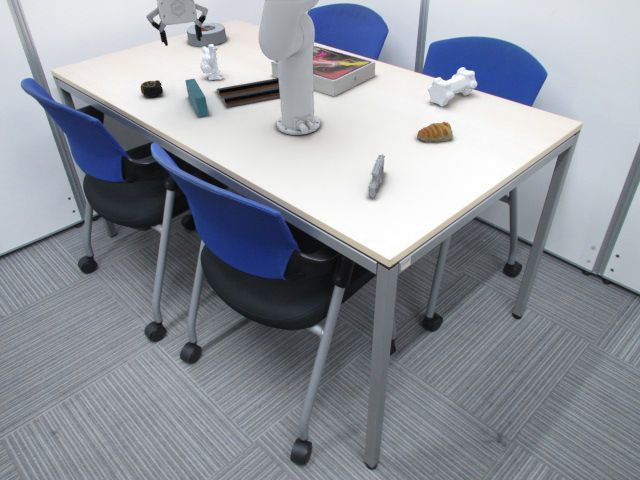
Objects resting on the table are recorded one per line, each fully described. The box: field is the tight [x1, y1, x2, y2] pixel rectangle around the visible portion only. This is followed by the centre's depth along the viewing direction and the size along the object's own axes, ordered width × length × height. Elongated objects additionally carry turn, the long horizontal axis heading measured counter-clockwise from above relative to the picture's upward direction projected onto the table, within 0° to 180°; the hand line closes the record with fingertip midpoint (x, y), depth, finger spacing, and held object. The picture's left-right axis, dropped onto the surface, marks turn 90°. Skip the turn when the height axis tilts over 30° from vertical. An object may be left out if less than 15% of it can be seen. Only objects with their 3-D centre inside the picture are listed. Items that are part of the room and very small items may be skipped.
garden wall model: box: [367, 153, 386, 199], centre depth 127 cm, size 12×2×6 cm, turn 163°
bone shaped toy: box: [427, 66, 478, 107], centre depth 164 cm, size 15×9×8 cm, turn 131°
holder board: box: [215, 77, 280, 109], centre depth 174 cm, size 14×22×2 cm, turn 112°
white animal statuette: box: [199, 44, 223, 81], centre depth 182 cm, size 8×7×12 cm
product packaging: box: [270, 44, 376, 97], centre depth 183 cm, size 22×28×5 cm
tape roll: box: [186, 22, 227, 48], centre depth 216 cm, size 15×15×5 cm
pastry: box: [416, 121, 454, 143], centre depth 146 cm, size 9×7×4 cm
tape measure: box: [140, 79, 164, 98], centre depth 174 cm, size 7×7×4 cm
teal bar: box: [185, 78, 209, 118], centre depth 166 cm, size 16×3×6 cm, turn 22°
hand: (182, 42), depth 156 cm, fingers open, 9 cm apart
